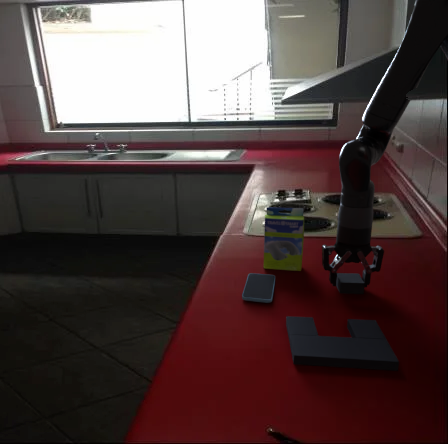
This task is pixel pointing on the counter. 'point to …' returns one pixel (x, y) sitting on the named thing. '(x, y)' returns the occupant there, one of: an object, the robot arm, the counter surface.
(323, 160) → the counter surface
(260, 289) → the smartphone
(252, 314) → the counter surface
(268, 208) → the box
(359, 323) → the u-shaped block
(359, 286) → the dark grey square block
